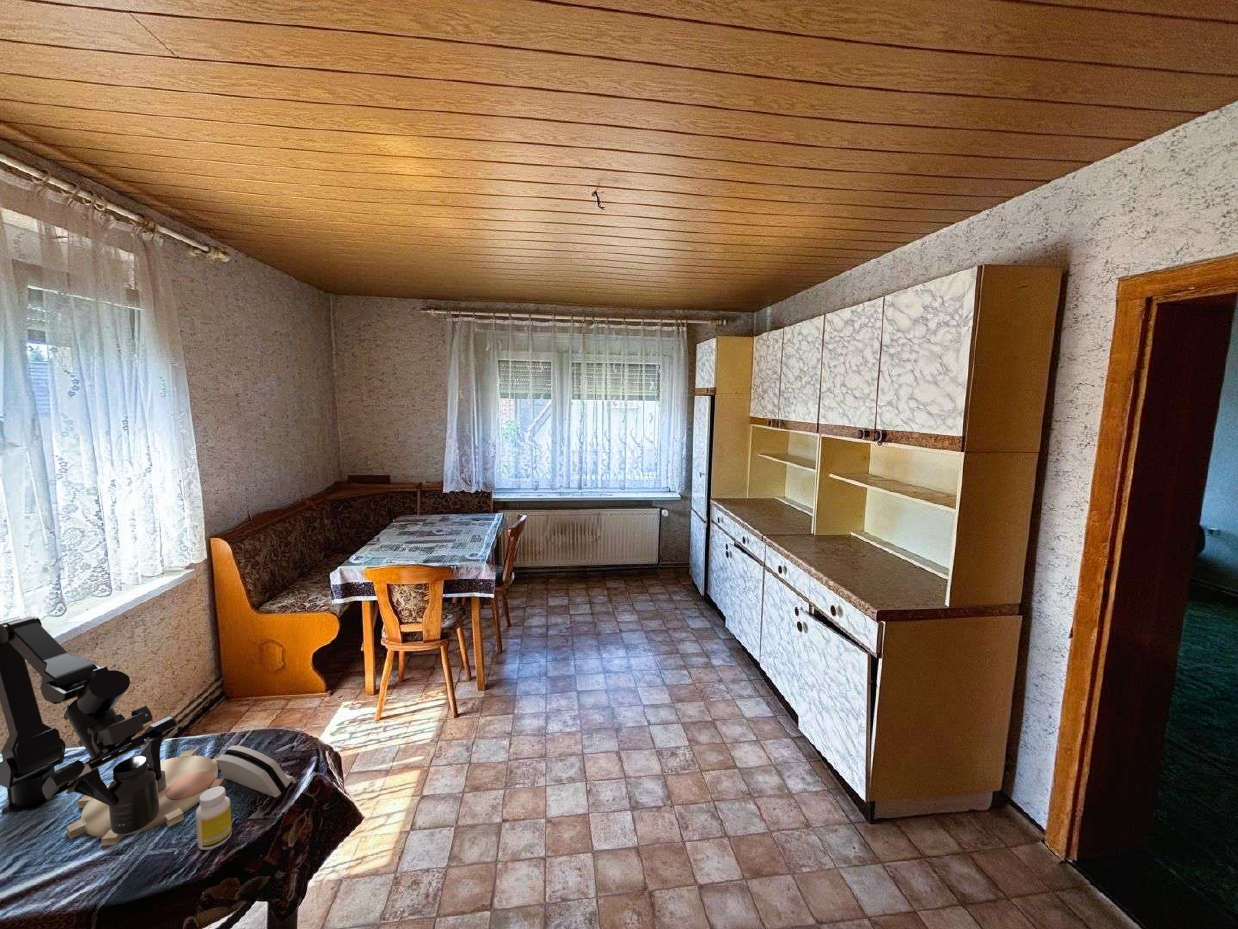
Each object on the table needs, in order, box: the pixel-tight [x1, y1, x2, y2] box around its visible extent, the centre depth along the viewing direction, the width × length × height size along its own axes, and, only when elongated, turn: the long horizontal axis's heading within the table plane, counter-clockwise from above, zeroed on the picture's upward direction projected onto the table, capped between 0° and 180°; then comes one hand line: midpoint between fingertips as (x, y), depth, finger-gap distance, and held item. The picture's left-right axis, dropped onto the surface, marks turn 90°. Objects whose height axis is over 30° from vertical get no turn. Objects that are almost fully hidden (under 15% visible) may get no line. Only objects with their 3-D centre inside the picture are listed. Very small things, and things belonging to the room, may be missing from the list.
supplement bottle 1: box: [108, 755, 159, 835], centre depth 98 cm, size 7×7×12 cm
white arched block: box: [216, 745, 297, 798], centre depth 116 cm, size 17×5×10 cm, turn 70°
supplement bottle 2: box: [195, 786, 233, 851], centre depth 101 cm, size 5×5×10 cm
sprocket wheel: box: [66, 749, 226, 847], centre depth 113 cm, size 26×26×4 cm
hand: (137, 792), depth 98 cm, fingers closed on supplement bottle 1, 7 cm apart
